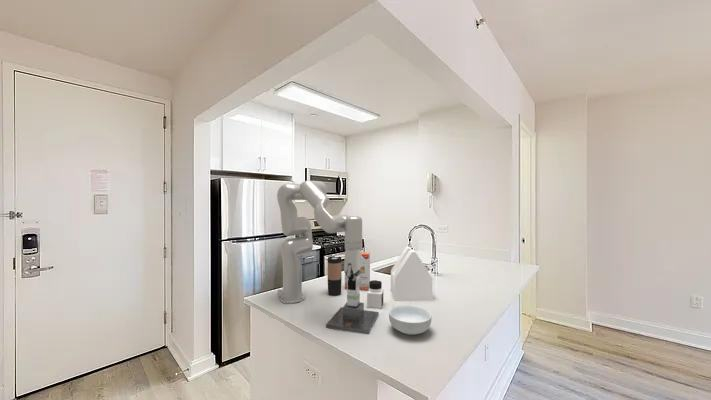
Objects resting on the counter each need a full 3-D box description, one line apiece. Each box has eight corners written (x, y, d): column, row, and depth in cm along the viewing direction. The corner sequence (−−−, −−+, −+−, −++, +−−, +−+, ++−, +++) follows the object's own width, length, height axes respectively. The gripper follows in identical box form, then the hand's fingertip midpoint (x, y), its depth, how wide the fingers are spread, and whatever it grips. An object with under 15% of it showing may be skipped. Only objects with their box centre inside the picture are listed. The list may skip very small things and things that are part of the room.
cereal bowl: (423, 345, 101) (423, 326, 101) (381, 333, 110) (381, 315, 109) (436, 327, 115) (436, 309, 115) (399, 317, 124) (399, 301, 124)
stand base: (325, 327, 114) (325, 310, 114) (341, 310, 132) (340, 295, 132) (368, 334, 109) (368, 316, 109) (378, 315, 126) (378, 299, 126)
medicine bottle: (381, 308, 134) (381, 283, 134) (367, 307, 135) (367, 282, 135) (383, 303, 141) (383, 279, 141) (369, 301, 142) (369, 278, 142)
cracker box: (344, 289, 161) (344, 253, 161) (346, 286, 167) (346, 251, 166) (368, 290, 159) (368, 254, 158) (370, 287, 165) (370, 251, 164)
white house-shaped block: (424, 290, 160) (424, 246, 159) (432, 300, 144) (432, 252, 144) (390, 290, 159) (390, 246, 159) (395, 300, 144) (395, 252, 143)
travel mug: (330, 297, 149) (330, 259, 148) (325, 292, 156) (325, 256, 155) (343, 294, 152) (343, 258, 152) (338, 290, 159) (338, 255, 159)
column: (345, 306, 119) (345, 272, 118) (349, 301, 124) (349, 269, 123) (357, 307, 117) (357, 273, 117) (361, 302, 122) (360, 270, 122)
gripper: (351, 241, 129) (351, 281, 129) (338, 248, 113) (338, 293, 113) (366, 242, 127) (366, 282, 127) (356, 249, 111) (356, 295, 111)
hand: (353, 287), depth 120 cm, fingers closed on column, 4 cm apart
